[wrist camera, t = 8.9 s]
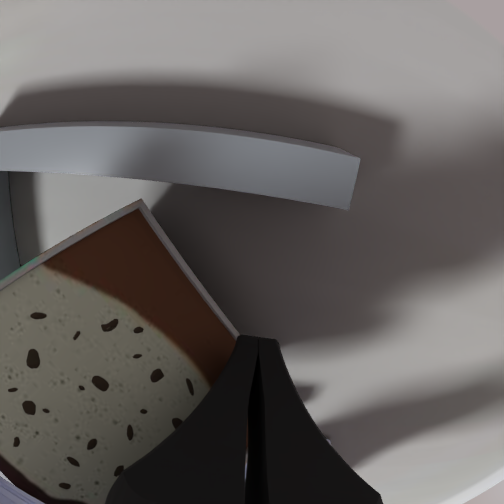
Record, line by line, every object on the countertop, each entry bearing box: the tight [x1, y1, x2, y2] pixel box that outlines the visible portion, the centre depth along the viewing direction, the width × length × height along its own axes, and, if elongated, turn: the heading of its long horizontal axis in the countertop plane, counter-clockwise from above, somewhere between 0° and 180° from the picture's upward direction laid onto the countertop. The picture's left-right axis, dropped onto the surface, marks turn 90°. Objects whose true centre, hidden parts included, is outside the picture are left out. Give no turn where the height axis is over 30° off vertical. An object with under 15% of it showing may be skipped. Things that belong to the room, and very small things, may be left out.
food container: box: [0, 198, 248, 504], centre depth 9 cm, size 12×6×10 cm, turn 32°
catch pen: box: [0, 121, 361, 280], centre depth 12 cm, size 15×16×3 cm
